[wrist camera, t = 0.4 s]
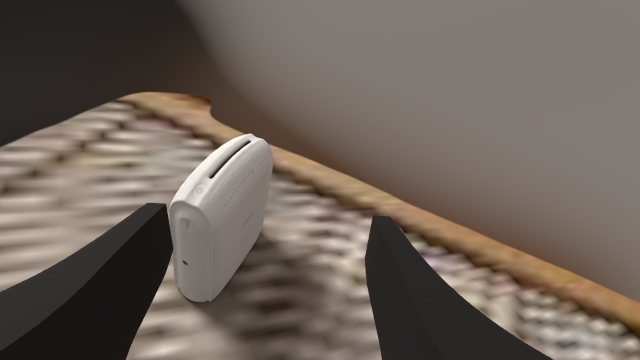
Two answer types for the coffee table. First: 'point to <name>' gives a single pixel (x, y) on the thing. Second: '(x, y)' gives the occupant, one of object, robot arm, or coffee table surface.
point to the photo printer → (219, 216)
